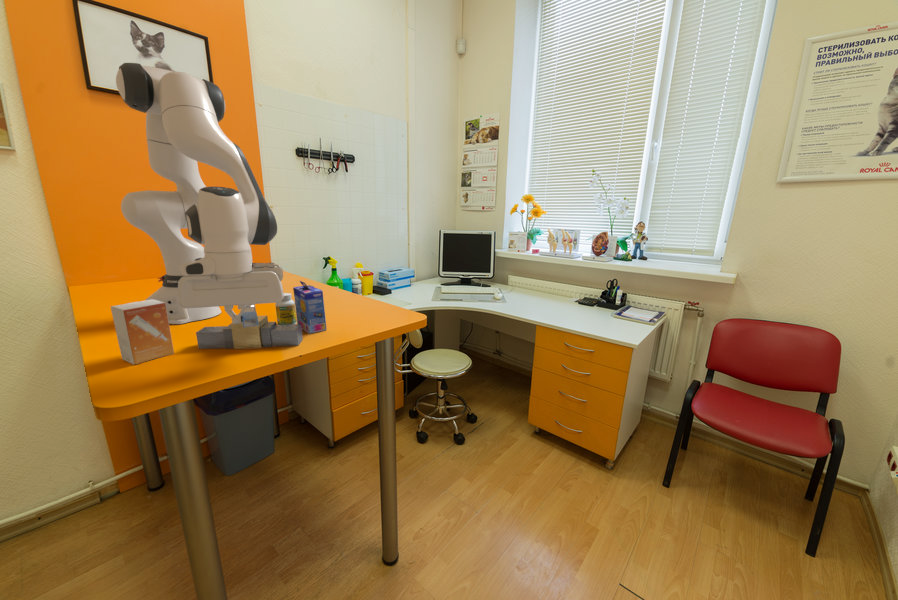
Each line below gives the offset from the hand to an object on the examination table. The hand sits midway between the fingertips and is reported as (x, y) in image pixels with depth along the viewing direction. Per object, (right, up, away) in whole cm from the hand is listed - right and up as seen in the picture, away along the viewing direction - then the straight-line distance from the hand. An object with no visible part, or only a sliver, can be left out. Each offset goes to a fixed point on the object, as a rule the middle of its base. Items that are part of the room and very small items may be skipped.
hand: (237, 323), depth 81 cm
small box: (-23, -8, +3) cm, 24 cm away
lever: (0, +1, +4) cm, 4 cm away
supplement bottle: (-1, -2, +27) cm, 27 cm away
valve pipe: (-3, -6, +11) cm, 13 cm away
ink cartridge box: (+7, -3, +24) cm, 26 cm away
